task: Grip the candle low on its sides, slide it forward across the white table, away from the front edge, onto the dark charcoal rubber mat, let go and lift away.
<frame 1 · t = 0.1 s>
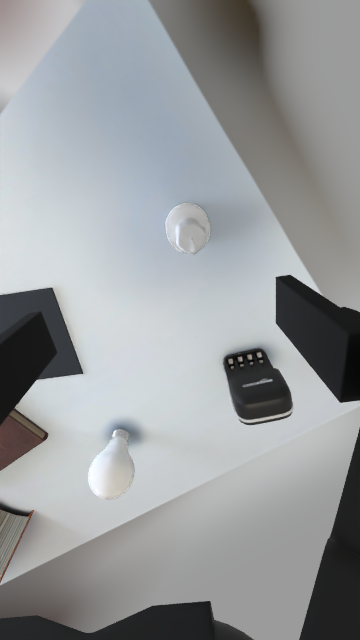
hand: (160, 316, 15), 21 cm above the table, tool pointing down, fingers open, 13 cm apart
light bulb: (121, 430, 47), on the table
battery charger: (243, 356, 41), on the table
mat: (22, 339, 39), on the table
candle: (186, 226, 33), on the table
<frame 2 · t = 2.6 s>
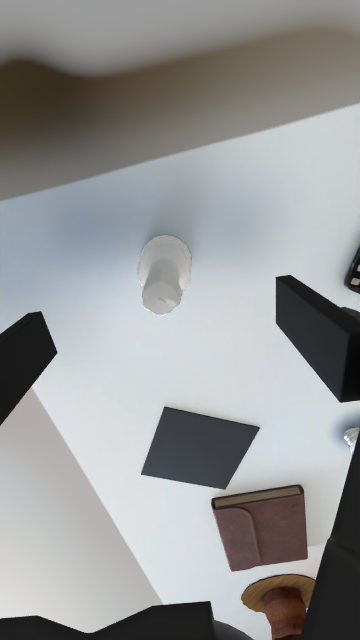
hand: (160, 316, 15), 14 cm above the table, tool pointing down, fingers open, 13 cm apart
light bulb: (349, 429, 38), on the table
mat: (197, 451, 40), on the table
candle: (165, 261, 28), on the table
notebook: (260, 524, 48), on the table
ceramic pot: (281, 593, 59), on the table
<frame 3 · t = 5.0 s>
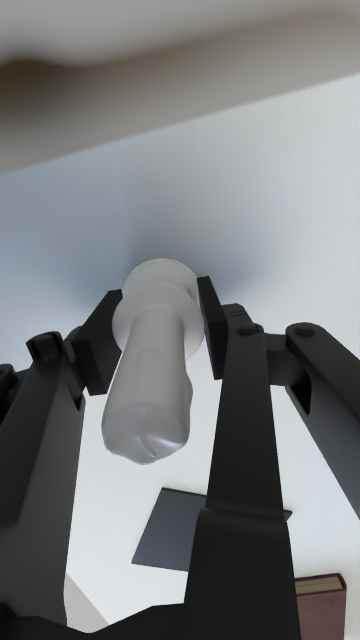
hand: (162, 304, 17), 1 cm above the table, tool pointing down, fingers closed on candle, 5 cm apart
mat: (206, 538, 29), on the table
candle: (163, 296, 18), on the table, touching gripper
notebook: (285, 612, 38), on the table
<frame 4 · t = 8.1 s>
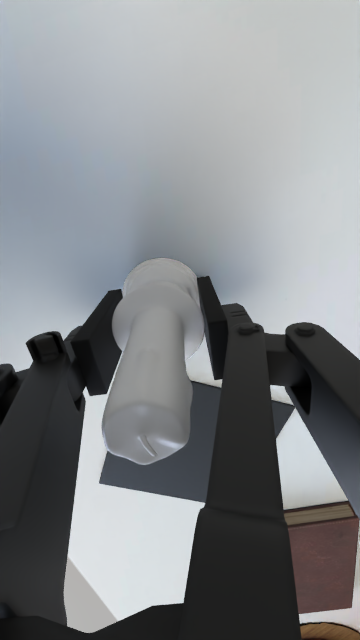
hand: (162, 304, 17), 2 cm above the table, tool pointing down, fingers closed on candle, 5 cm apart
mat: (189, 446, 24), on the table
candle: (162, 296, 18), on the table, touching gripper
notebook: (285, 557, 32), on the table
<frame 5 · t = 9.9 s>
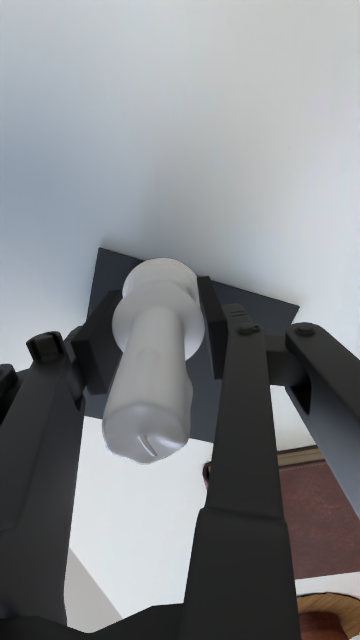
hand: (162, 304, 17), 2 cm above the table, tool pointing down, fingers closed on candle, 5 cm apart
mat: (174, 363, 20), on the table
candle: (163, 296, 18), on the table, touching gripper
notebook: (287, 512, 29), on the table
ceramic pot: (309, 620, 39), on the table
when the fingers open (1 cm above the table, at t = 11.5 s): candle stays where it is, resting on mat.
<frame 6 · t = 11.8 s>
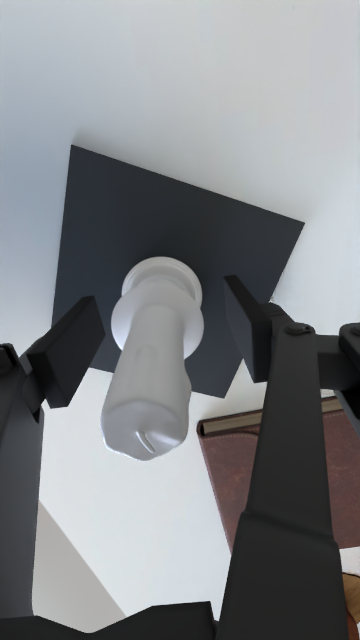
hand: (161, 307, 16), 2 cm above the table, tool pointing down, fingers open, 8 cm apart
mat: (163, 296, 18), on the table
candle: (162, 295, 18), resting on mat
notebook: (289, 479, 26), on the table
ceramic pot: (313, 603, 37), on the table
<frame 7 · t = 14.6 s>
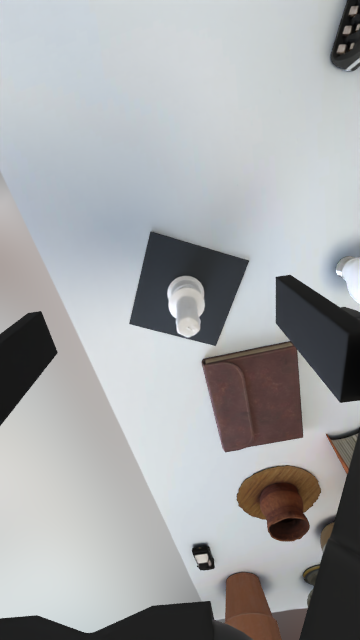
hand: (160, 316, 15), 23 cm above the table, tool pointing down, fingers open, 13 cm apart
toy car: (203, 553, 67), on the table
light bulb: (342, 265, 37), on the table
potted plant: (242, 579, 72), on the table
battery charger: (348, 29, 27), on the table
mat: (186, 293, 39), on the table
candle: (185, 293, 39), resting on mat
notebook: (254, 396, 47), on the table
ceramic pot: (277, 493, 57), on the table
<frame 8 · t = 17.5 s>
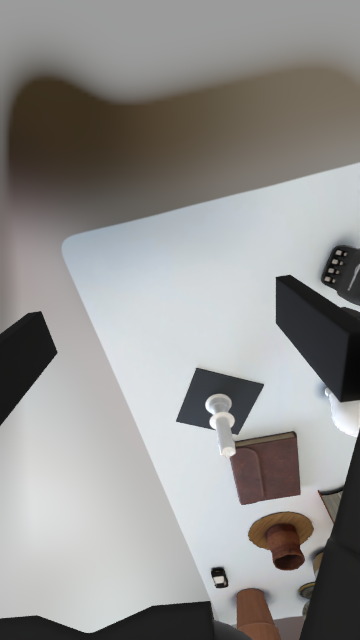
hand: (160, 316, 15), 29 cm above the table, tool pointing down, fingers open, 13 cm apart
toy car: (219, 574, 83), on the table
book: (346, 508, 69), on the table
apothecary jar: (313, 588, 87), on the table
light bulb: (329, 386, 53), on the table
potted plant: (249, 594, 88), on the table
battery charger: (332, 264, 43), on the table
mat: (218, 403, 54), on the table
candle: (218, 403, 54), resting on mat
notebook: (264, 466, 62), on the table
ceramic pot: (280, 530, 73), on the table
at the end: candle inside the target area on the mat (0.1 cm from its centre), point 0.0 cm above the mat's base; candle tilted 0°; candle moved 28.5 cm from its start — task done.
